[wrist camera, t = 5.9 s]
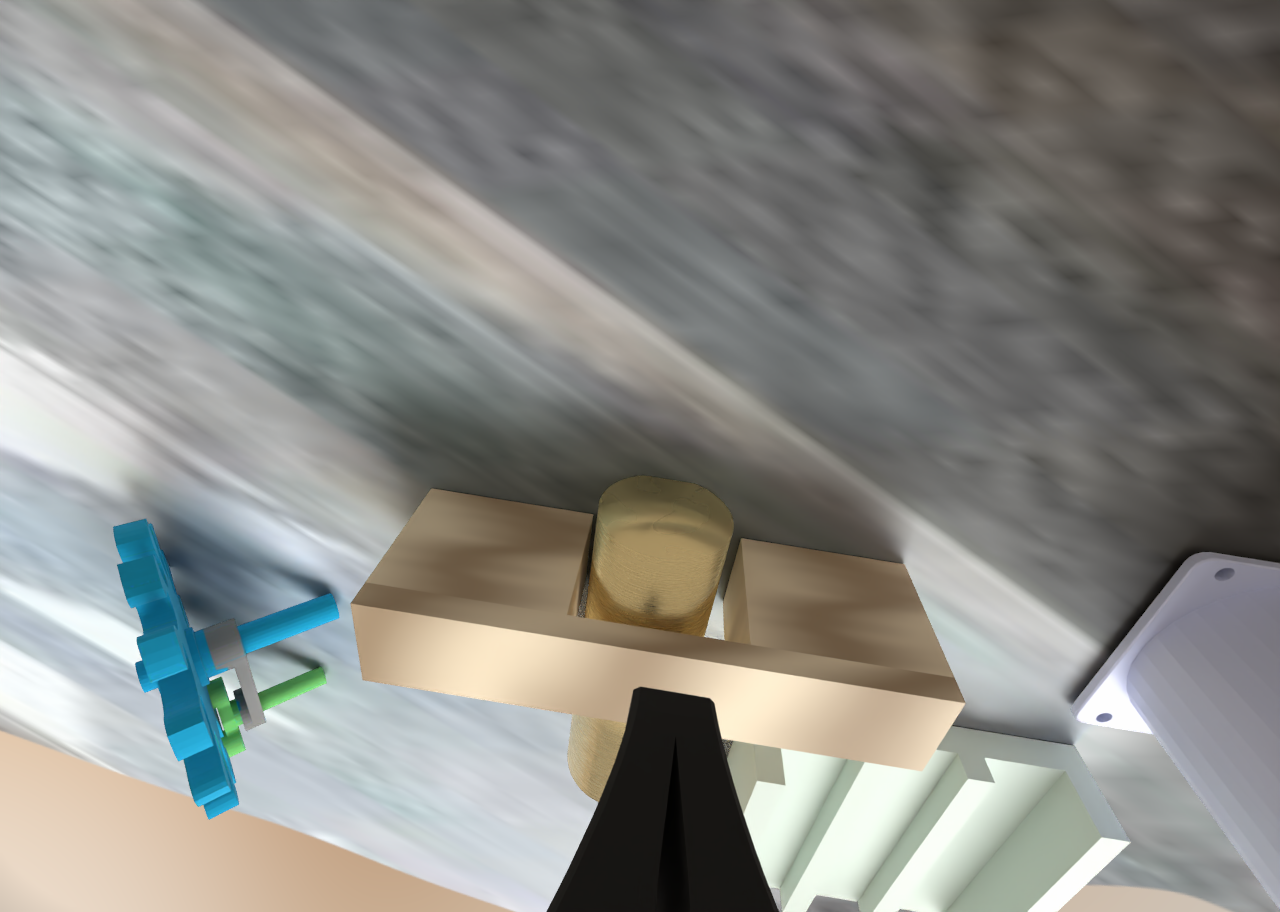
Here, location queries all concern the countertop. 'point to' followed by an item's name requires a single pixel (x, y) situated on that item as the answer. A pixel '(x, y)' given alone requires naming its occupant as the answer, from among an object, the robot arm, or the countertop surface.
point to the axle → (648, 585)
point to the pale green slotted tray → (929, 825)
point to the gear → (205, 666)
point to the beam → (657, 635)
